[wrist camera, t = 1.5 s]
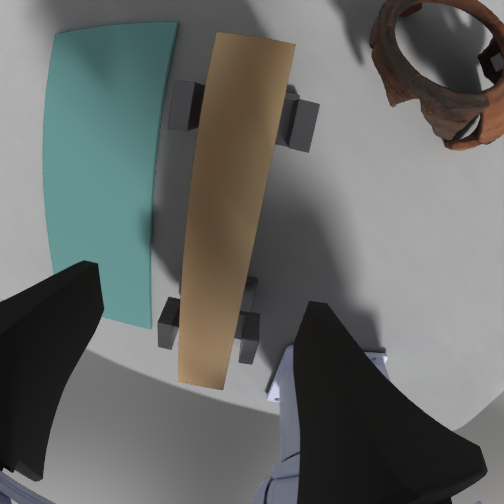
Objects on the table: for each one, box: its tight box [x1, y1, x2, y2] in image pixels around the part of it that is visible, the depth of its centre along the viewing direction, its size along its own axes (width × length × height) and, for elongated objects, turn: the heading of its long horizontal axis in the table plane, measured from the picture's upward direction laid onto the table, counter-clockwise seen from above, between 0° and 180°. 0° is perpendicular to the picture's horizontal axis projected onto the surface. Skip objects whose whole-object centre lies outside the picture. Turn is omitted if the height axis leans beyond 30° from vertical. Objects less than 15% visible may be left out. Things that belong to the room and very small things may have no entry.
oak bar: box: [178, 32, 296, 390], centre depth 14 cm, size 3×18×3 cm, turn 169°
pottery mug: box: [370, 0, 504, 150], centre depth 10 cm, size 12×9×8 cm
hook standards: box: [158, 81, 320, 364], centre depth 16 cm, size 6×15×6 cm, turn 170°
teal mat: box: [43, 22, 179, 329], centre depth 17 cm, size 9×22×1 cm, turn 170°
